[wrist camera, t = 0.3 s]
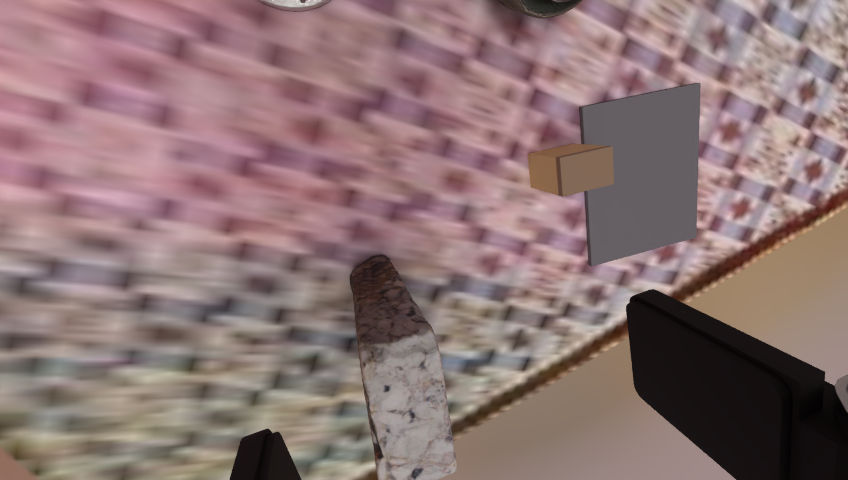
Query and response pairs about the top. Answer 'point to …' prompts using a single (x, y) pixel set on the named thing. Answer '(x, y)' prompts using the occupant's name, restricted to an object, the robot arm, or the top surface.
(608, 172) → the block
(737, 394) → the robot arm
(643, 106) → the mat
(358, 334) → the stone block
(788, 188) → the top surface
